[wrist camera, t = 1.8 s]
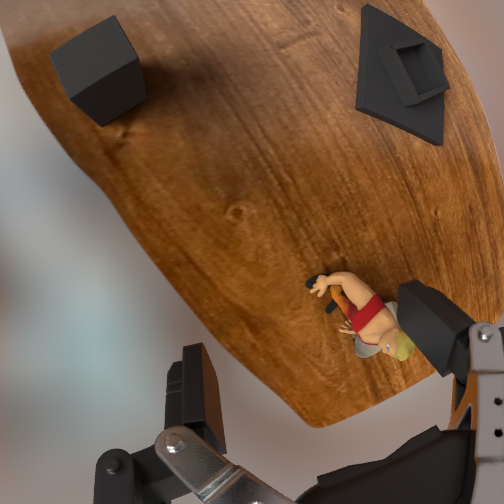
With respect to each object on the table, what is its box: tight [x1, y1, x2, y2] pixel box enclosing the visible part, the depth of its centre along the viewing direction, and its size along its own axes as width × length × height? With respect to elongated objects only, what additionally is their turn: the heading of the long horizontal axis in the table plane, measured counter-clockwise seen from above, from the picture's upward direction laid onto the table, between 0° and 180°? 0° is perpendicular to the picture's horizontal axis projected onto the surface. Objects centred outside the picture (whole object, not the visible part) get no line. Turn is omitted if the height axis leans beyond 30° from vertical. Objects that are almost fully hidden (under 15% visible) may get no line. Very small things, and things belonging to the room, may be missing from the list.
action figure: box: [306, 272, 416, 361], centre depth 27 cm, size 10×4×15 cm, turn 39°
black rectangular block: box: [49, 15, 148, 127], centre depth 19 cm, size 5×4×10 cm
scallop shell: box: [351, 302, 398, 358], centre depth 35 cm, size 8×3×8 cm
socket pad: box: [355, 4, 450, 146], centre depth 29 cm, size 14×16×4 cm
